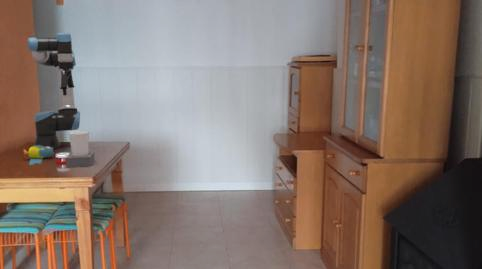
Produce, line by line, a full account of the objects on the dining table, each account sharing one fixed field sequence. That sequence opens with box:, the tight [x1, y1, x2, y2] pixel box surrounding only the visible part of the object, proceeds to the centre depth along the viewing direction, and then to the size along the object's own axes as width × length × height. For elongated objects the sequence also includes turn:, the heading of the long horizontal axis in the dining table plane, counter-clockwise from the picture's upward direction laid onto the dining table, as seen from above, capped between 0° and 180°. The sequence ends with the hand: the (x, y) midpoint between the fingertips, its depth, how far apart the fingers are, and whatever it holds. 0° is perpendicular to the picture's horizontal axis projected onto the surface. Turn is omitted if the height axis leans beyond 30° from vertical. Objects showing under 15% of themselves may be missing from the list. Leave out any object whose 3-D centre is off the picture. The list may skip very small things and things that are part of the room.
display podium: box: [65, 151, 95, 168], centre depth 238 cm, size 12×12×5 cm
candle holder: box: [68, 130, 90, 157], centre depth 237 cm, size 10×10×12 cm
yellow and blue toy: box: [22, 144, 54, 166], centre depth 252 cm, size 28×9×15 cm
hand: (68, 100), depth 251 cm, fingers open, 13 cm apart
